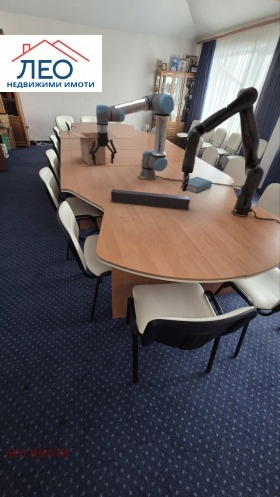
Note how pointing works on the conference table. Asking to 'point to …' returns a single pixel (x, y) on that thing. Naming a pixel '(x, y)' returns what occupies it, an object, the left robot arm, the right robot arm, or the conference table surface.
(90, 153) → the left robot arm
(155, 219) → the conference table surface
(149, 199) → the bar
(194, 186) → the book
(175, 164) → the conference table surface
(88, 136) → the box
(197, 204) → the conference table surface
